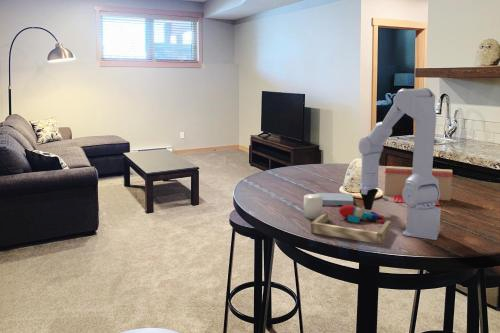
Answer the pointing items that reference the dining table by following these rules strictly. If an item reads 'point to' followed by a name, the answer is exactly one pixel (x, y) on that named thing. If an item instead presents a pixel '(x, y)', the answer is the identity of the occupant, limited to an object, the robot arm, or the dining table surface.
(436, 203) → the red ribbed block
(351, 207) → the toy figure
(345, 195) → the slate box
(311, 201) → the cream rounded block
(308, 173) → the dining table surface
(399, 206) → the dining table surface
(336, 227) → the wooden tray
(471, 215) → the dining table surface
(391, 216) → the dining table surface
